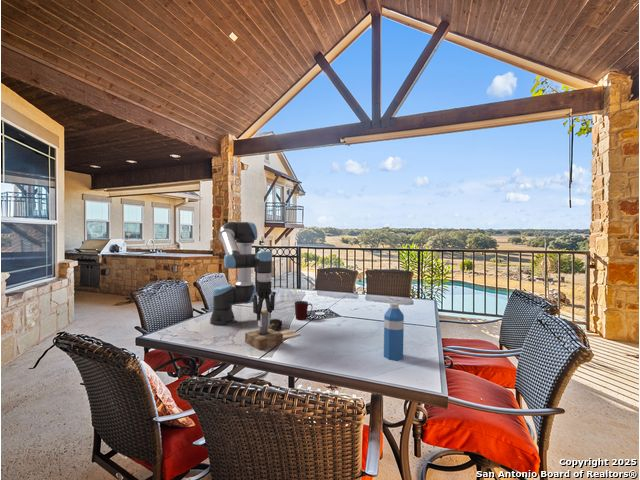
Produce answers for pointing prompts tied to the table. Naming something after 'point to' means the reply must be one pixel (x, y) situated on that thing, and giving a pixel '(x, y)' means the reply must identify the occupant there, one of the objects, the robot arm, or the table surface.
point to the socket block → (263, 339)
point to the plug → (264, 323)
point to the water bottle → (393, 333)
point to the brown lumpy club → (275, 324)
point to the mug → (301, 310)
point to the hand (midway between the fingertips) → (263, 325)
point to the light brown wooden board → (288, 334)
